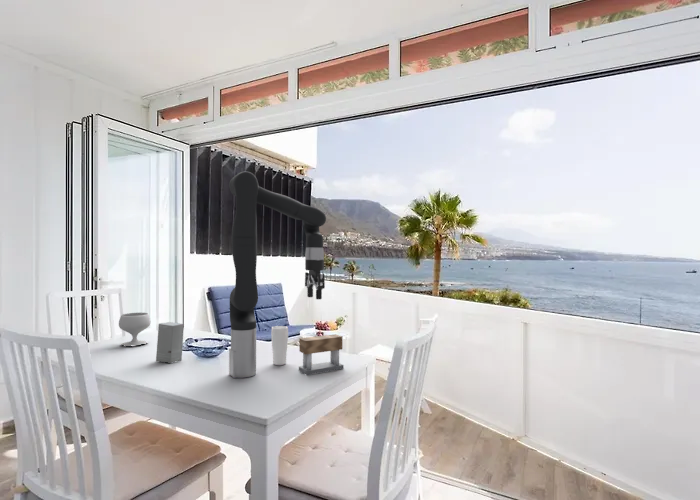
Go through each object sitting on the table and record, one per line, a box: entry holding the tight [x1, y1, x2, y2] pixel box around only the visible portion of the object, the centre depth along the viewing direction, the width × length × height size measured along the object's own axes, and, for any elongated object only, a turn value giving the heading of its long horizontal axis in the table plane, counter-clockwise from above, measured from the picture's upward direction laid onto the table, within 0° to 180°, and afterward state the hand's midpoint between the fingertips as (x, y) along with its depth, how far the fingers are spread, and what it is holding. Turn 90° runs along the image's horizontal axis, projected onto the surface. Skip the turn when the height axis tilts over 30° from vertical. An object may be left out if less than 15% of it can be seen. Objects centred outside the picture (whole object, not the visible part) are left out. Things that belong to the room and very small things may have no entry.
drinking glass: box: [270, 325, 289, 366], centre depth 167 cm, size 7×7×15 cm
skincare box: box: [155, 321, 185, 364], centre depth 172 cm, size 8×7×16 cm
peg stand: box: [298, 350, 345, 376], centre depth 159 cm, size 16×7×8 cm, turn 121°
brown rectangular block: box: [298, 333, 343, 354], centre depth 159 cm, size 16×6×5 cm, turn 121°
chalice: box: [118, 312, 151, 347], centre depth 202 cm, size 14×14×15 cm
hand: (314, 298), depth 167 cm, fingers open, 8 cm apart
